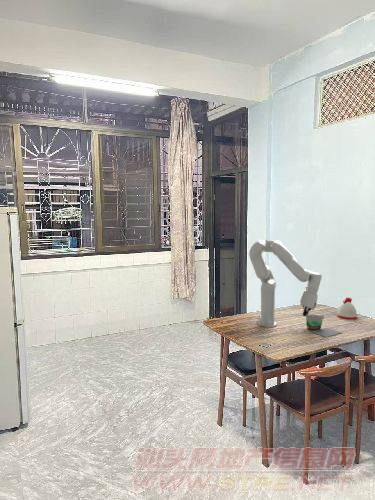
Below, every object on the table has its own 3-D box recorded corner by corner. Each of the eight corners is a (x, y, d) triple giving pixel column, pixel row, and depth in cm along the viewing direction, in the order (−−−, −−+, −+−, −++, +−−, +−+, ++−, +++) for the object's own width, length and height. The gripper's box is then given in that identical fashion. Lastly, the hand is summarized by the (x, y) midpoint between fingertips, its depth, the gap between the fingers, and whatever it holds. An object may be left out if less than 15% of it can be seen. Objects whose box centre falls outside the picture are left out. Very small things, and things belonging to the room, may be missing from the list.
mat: (310, 332, 242) (310, 331, 242) (326, 328, 251) (326, 327, 251) (326, 337, 232) (326, 336, 232) (341, 332, 241) (341, 332, 241)
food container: (307, 331, 245) (308, 317, 243) (304, 327, 251) (305, 313, 249) (325, 331, 245) (326, 317, 242) (322, 327, 251) (323, 313, 248)
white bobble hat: (361, 318, 274) (361, 298, 273) (347, 320, 269) (347, 300, 267) (346, 313, 287) (347, 294, 285) (332, 315, 282) (333, 296, 280)
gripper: (299, 286, 252) (292, 311, 255) (317, 294, 240) (310, 320, 243) (306, 286, 256) (299, 311, 259) (324, 294, 244) (317, 320, 247)
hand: (304, 315), depth 251 cm, fingers closed
